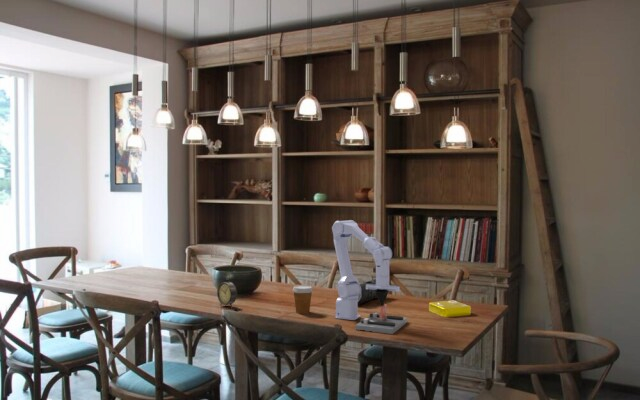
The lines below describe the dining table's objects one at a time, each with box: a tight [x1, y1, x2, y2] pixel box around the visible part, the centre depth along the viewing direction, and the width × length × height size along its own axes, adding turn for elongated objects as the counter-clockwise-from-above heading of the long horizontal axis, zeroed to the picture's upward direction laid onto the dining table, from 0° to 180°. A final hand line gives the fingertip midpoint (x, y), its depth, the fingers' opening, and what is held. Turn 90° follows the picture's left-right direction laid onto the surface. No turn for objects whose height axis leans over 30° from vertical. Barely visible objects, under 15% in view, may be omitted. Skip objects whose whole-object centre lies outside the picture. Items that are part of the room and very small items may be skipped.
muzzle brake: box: [358, 278, 379, 305], centre depth 298 cm, size 10×28×10 cm, turn 147°
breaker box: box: [355, 312, 408, 335], centre depth 246 cm, size 16×22×4 cm
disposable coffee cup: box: [292, 284, 314, 315], centre depth 272 cm, size 10×10×12 cm
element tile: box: [428, 299, 472, 318], centre depth 272 cm, size 15×15×5 cm
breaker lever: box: [379, 303, 388, 321], centre depth 246 cm, size 1×5×6 cm, turn 156°
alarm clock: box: [216, 273, 238, 309], centre depth 284 cm, size 11×5×16 cm, turn 47°
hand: (382, 307), depth 246 cm, fingers closed, pressing on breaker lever
